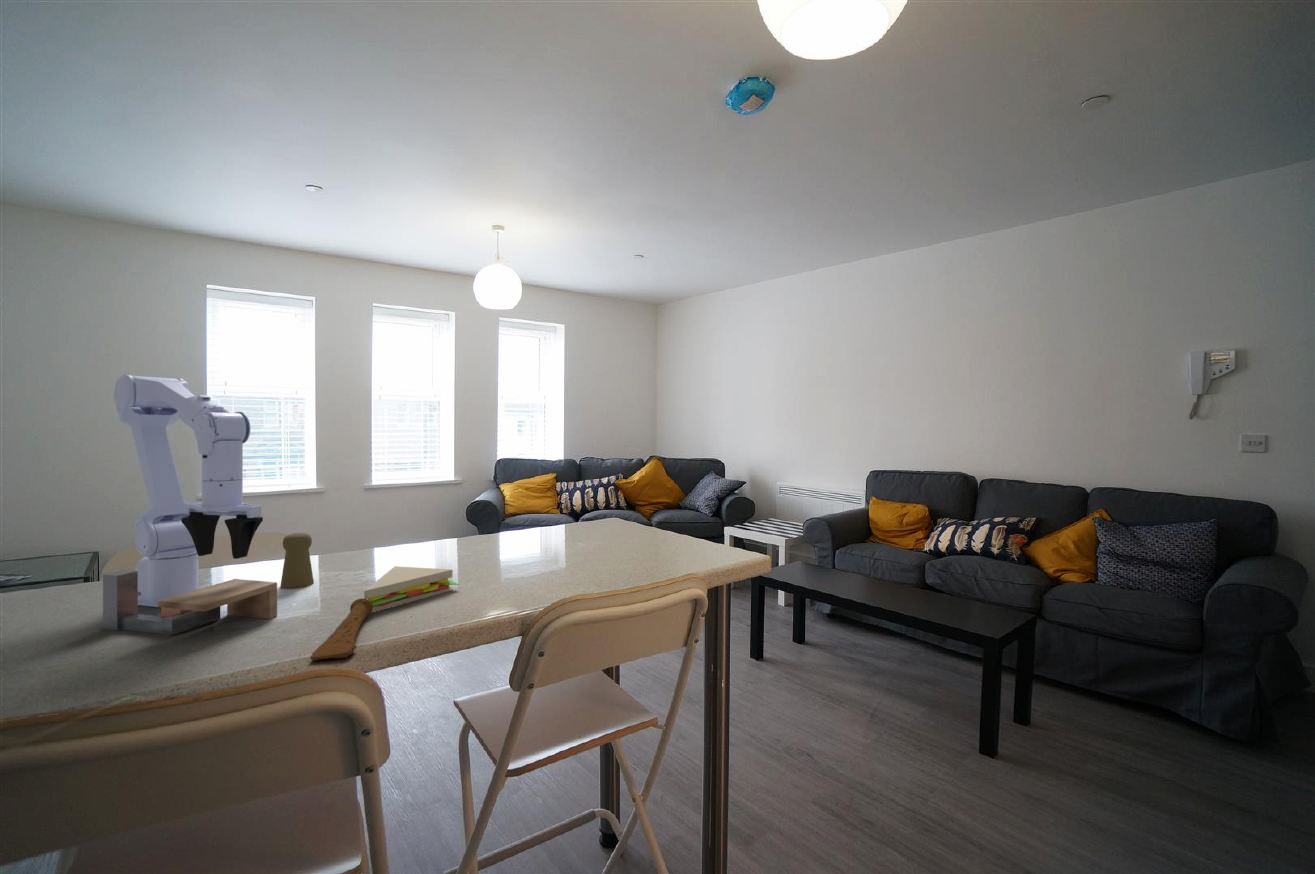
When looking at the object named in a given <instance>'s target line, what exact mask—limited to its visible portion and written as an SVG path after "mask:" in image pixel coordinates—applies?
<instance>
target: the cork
mask: <svg viewBox="0 0 1315 874" xmlns="http://www.w3.org/2000/svg"><path fill="white" fill-rule="evenodd" d="M312 543H313V539H312V536H311V534H309V533H307V532H305V533H304V532H296V533H290V534H286V536H284V537H283V539H282V548H283V550H285V555H284V559H283V560H284V561H283V566H282V573H281V578H280V579H281V581H280V589H283V590H296V589H303V588H307V587H310V586H312V585H315V581H314V576H313V569H312V568H313V567H312V562H311V555H310V547H311V546H312Z"/></svg>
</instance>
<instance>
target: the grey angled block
mask: <svg viewBox="0 0 1315 874" xmlns="http://www.w3.org/2000/svg"><path fill="white" fill-rule="evenodd" d="M138 606H139V605H138V571H135V570H129V569H122V570H117V571H113V572H108V573H103V574H102V630H109V631H130V632H137V633H148V634H158V635H164V636H174V635H177V634H181V633H182V632H183V633H184V632H185V631H189V630H191V629H195V628H197V627H200V626H204V625H207V624H209V623H211V622H216V621H218V620H221V606H220V607H217V608H214V609H210V610H207V611H204V612H203V611H193V610H189V611H186V612H182V613H179V614H176V615H173V616H170V617H162V616H161V615H153V614H141V613H138V611H139V610H138V609H139V607H138Z"/></svg>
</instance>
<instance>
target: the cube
mask: <svg viewBox="0 0 1315 874" xmlns="http://www.w3.org/2000/svg"><path fill="white" fill-rule="evenodd" d="M160 610H161V611H160V616H162V617H170V616H173V615H176V614H179V613H182V612H186V611H189V610H183V609H173V608H163V607H160Z"/></svg>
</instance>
